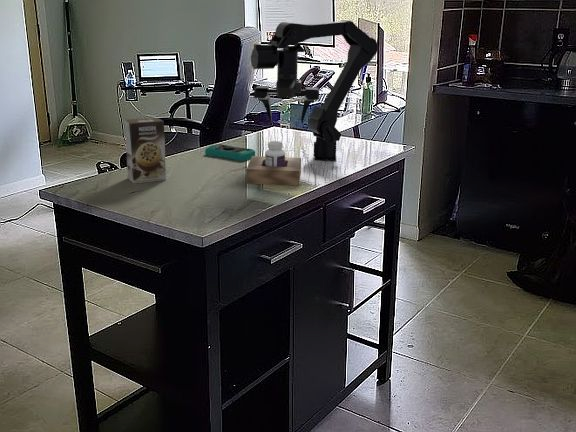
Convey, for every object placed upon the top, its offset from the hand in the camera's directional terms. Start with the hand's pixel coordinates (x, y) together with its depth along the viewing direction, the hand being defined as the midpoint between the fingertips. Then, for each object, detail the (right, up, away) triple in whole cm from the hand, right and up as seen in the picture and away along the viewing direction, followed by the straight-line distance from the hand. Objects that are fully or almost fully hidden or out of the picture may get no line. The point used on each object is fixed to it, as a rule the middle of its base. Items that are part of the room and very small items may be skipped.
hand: (286, 122), depth 188 cm
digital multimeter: (-17, -10, +10) cm, 22 cm away
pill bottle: (-3, -17, -12) cm, 21 cm away
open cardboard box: (-3, -17, -12) cm, 21 cm away
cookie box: (-37, -18, -16) cm, 44 cm away
